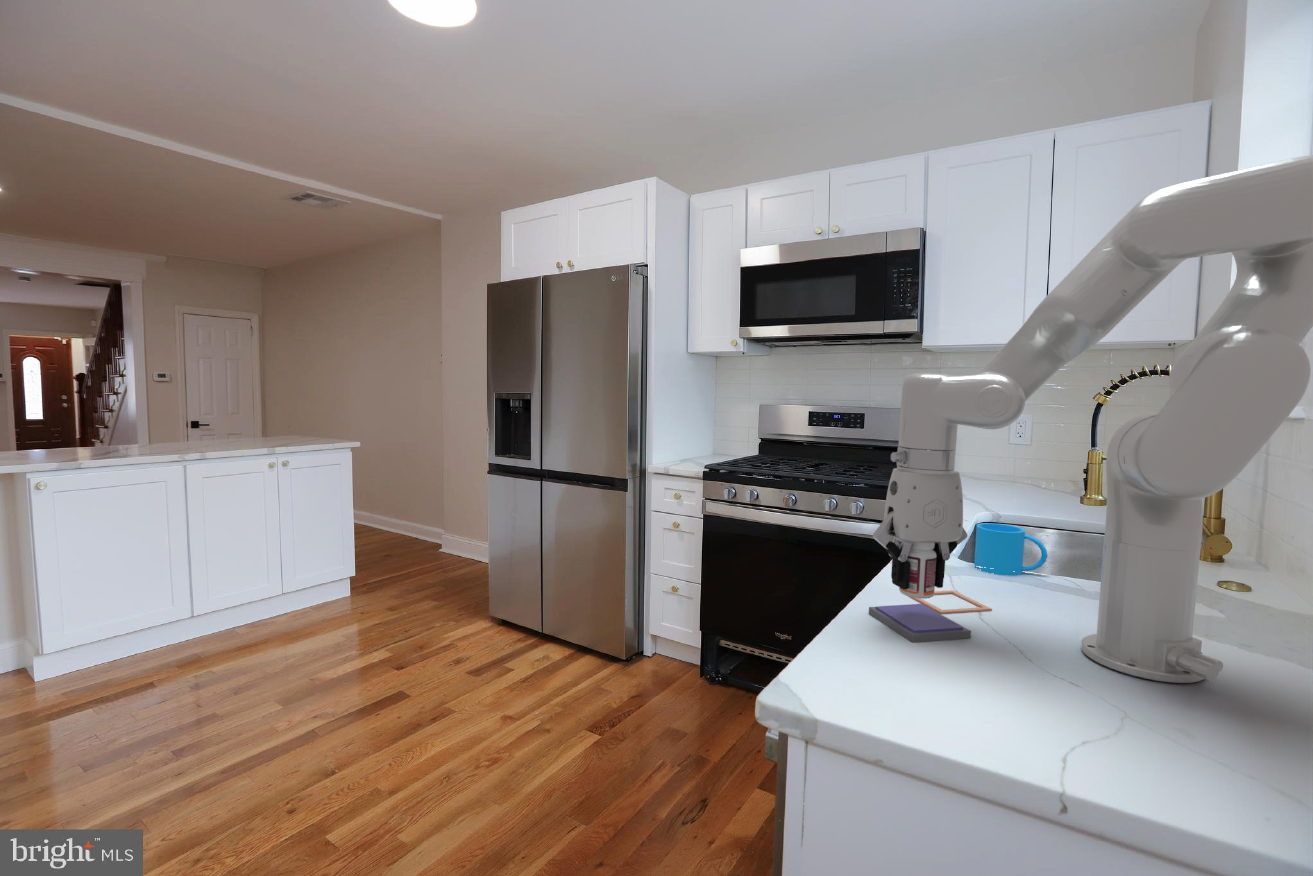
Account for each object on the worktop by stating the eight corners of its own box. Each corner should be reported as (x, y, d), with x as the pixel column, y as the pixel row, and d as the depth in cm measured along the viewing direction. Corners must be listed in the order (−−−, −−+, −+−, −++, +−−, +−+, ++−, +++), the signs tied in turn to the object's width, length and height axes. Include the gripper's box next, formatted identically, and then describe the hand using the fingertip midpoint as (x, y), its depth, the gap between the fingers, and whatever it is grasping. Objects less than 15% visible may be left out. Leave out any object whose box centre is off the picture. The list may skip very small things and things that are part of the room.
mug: (971, 570, 120) (974, 528, 119) (976, 561, 127) (979, 521, 126) (1045, 582, 114) (1048, 537, 113) (1046, 571, 120) (1049, 529, 120)
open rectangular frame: (991, 610, 98) (991, 608, 98) (940, 614, 96) (940, 612, 96) (953, 592, 107) (953, 590, 107) (905, 594, 105) (905, 593, 105)
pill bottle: (927, 589, 93) (931, 533, 93) (938, 600, 89) (942, 541, 88) (894, 587, 94) (898, 532, 93) (903, 598, 89) (907, 540, 88)
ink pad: (970, 638, 87) (971, 628, 87) (912, 642, 85) (913, 633, 85) (921, 610, 98) (921, 602, 98) (868, 613, 96) (869, 605, 96)
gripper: (886, 464, 84) (878, 597, 86) (996, 464, 88) (986, 592, 89) (857, 457, 91) (850, 579, 93) (959, 457, 95) (951, 575, 97)
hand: (917, 584), depth 91 cm, fingers closed on pill bottle, 4 cm apart
